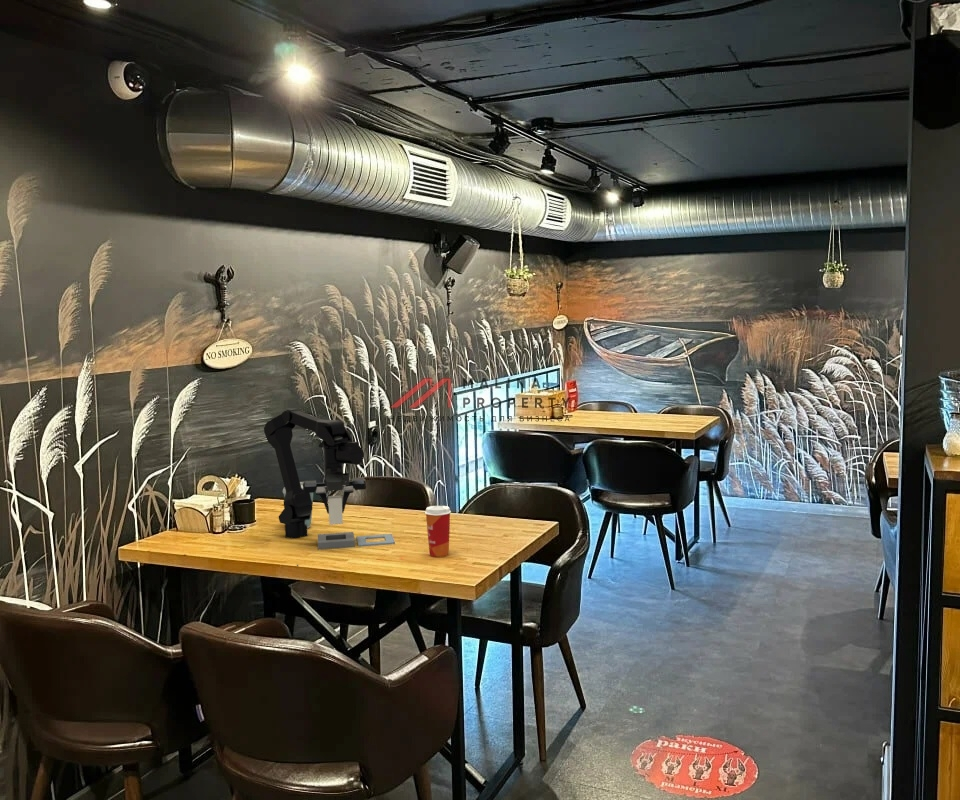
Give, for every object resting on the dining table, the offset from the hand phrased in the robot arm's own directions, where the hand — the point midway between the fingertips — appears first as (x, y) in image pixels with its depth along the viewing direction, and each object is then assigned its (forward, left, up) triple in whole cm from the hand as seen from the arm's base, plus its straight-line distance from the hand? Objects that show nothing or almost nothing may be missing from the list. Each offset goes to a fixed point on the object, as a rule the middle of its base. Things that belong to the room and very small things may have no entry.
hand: (335, 513), depth 257 cm
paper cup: (+29, -16, -11) cm, 35 cm away
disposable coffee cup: (-12, +32, -11) cm, 36 cm away
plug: (0, 0, -3) cm, 3 cm away
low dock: (+12, 0, -11) cm, 16 cm away
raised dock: (0, 0, -11) cm, 11 cm away
